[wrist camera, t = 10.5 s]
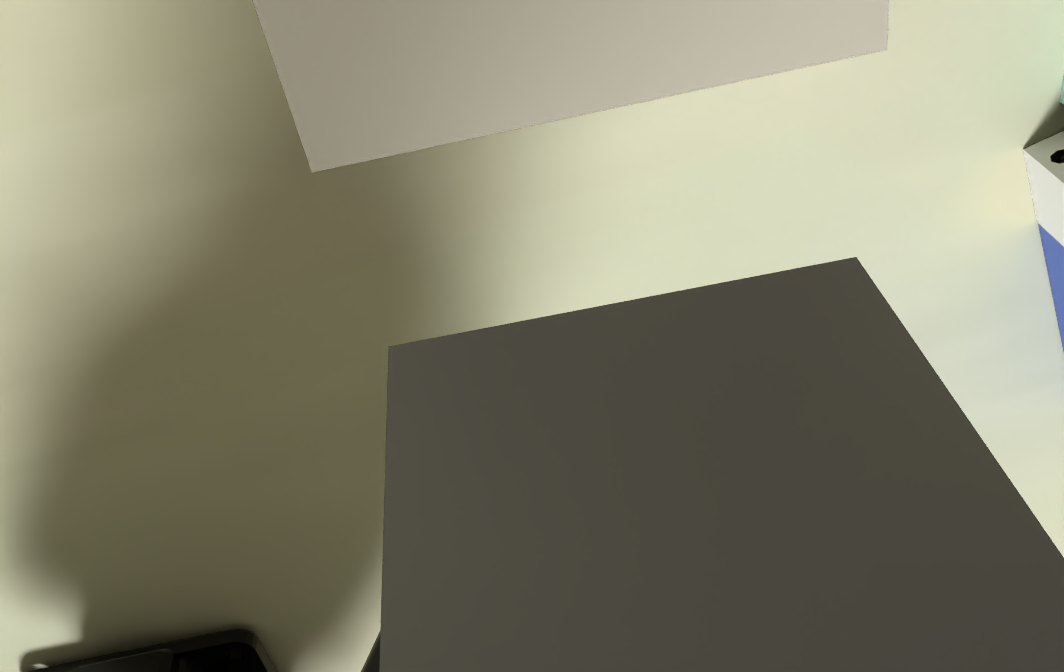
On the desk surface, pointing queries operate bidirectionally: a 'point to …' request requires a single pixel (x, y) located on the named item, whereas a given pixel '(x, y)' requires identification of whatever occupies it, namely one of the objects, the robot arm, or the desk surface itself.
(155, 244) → the desk surface
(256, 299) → the desk surface
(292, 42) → the socket plate
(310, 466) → the desk surface
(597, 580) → the charger
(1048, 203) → the walkman
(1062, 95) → the green block
